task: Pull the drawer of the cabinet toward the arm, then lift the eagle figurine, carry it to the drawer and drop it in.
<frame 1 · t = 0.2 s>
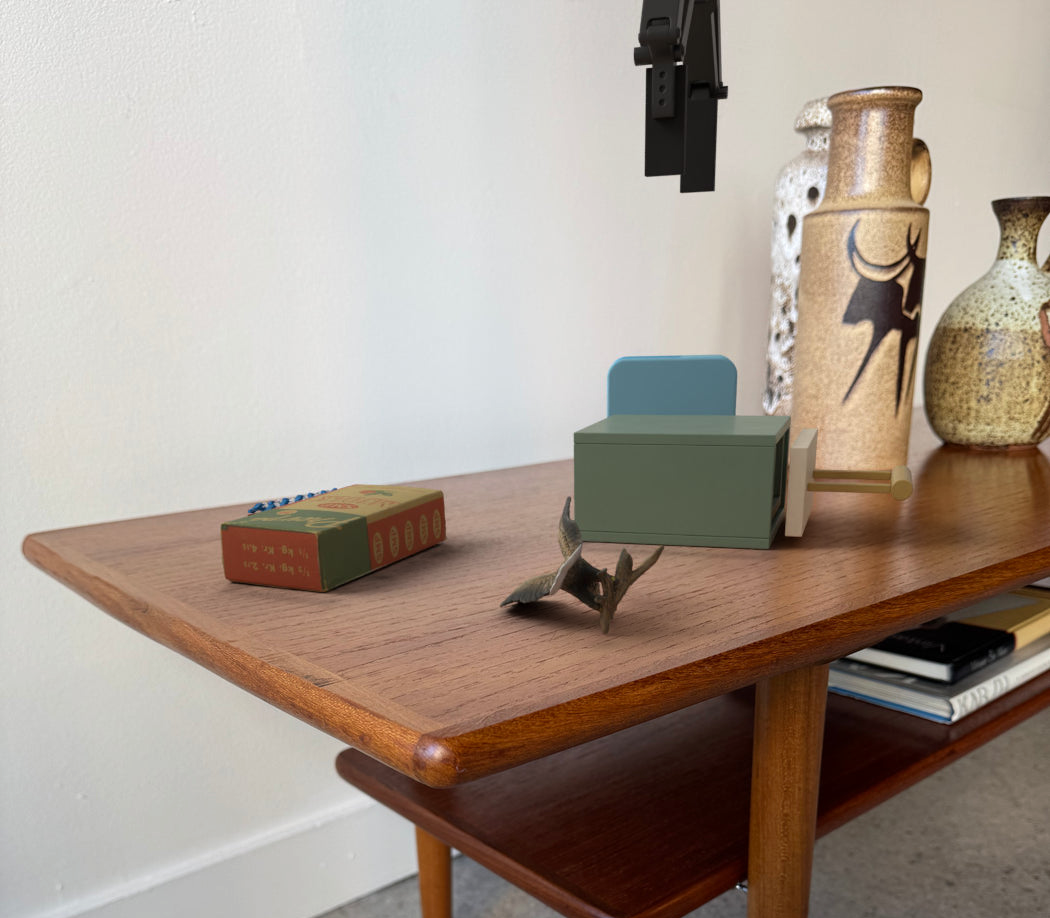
hand: (682, 185, 78), 25 cm above the table, tool pointing down, fingers open, 13 cm apart
blue rounded panel: (668, 487, 102), on the table
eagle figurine: (571, 620, 61), on the table
cabinet: (683, 528, 83), on the table
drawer: (768, 478, 80), point 4 cm above the table, slide at 1.0 cm
blue white beaded strip: (333, 526, 88), on the table
carton: (343, 564, 75), on the table
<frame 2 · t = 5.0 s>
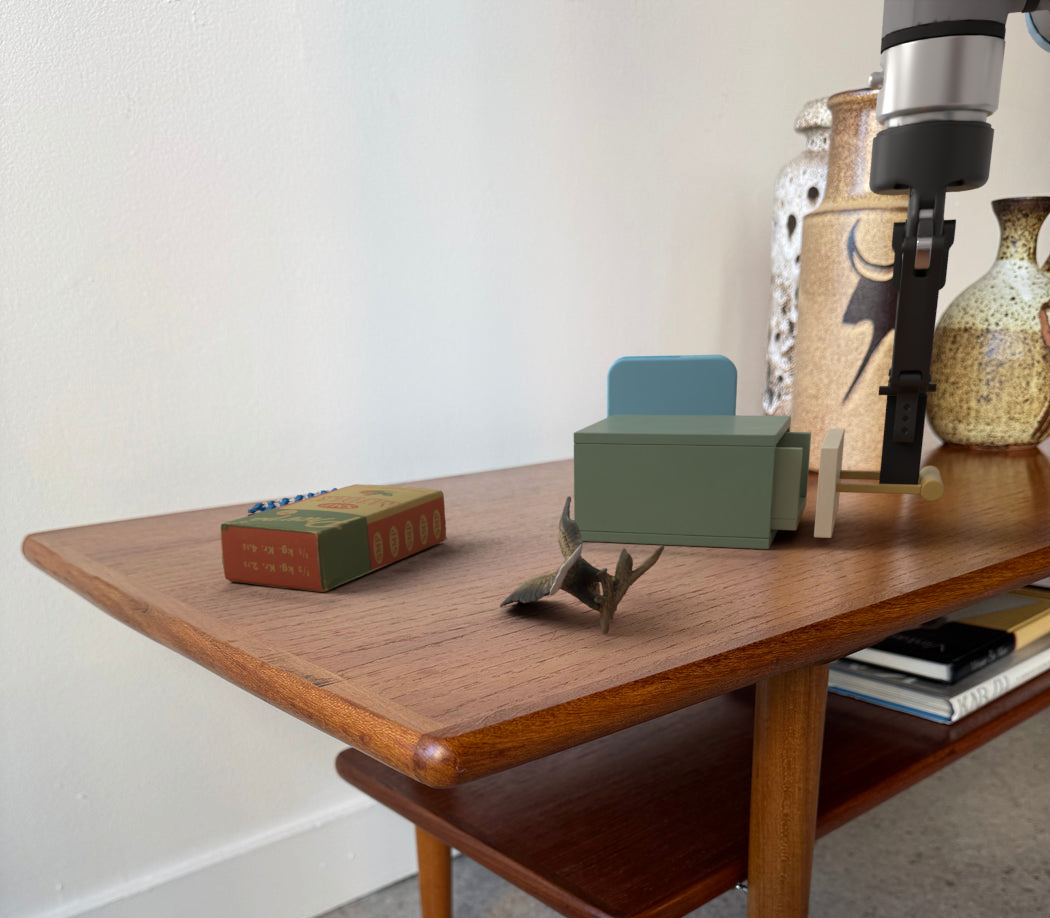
hand: (898, 485, 77), 4 cm above the table, tool pointing down, fingers closed
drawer: (795, 479, 79), point 4 cm above the table, slide at 3.0 cm, touching gripper
everything else where it was.
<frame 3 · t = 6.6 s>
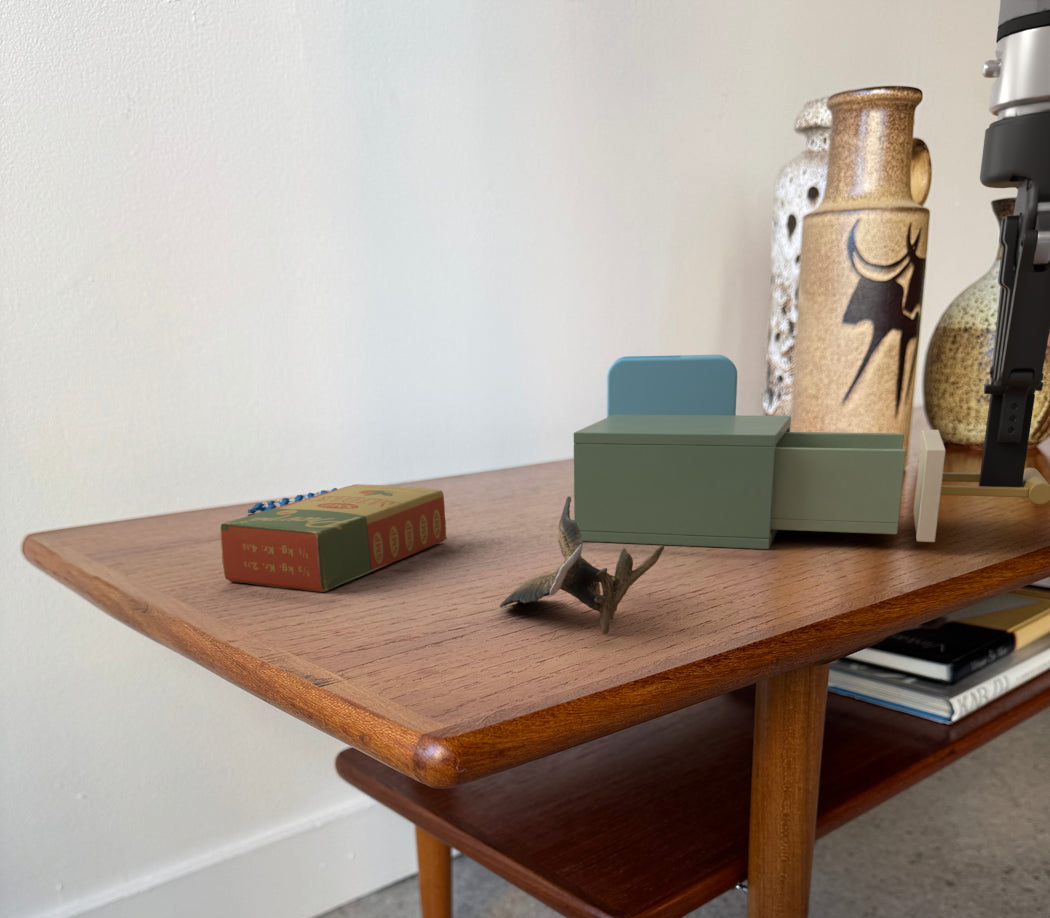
hand: (999, 487, 75), 4 cm above the table, tool pointing down, fingers closed
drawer: (891, 482, 77), point 4 cm above the table, slide at 10.0 cm
everything else where it was.
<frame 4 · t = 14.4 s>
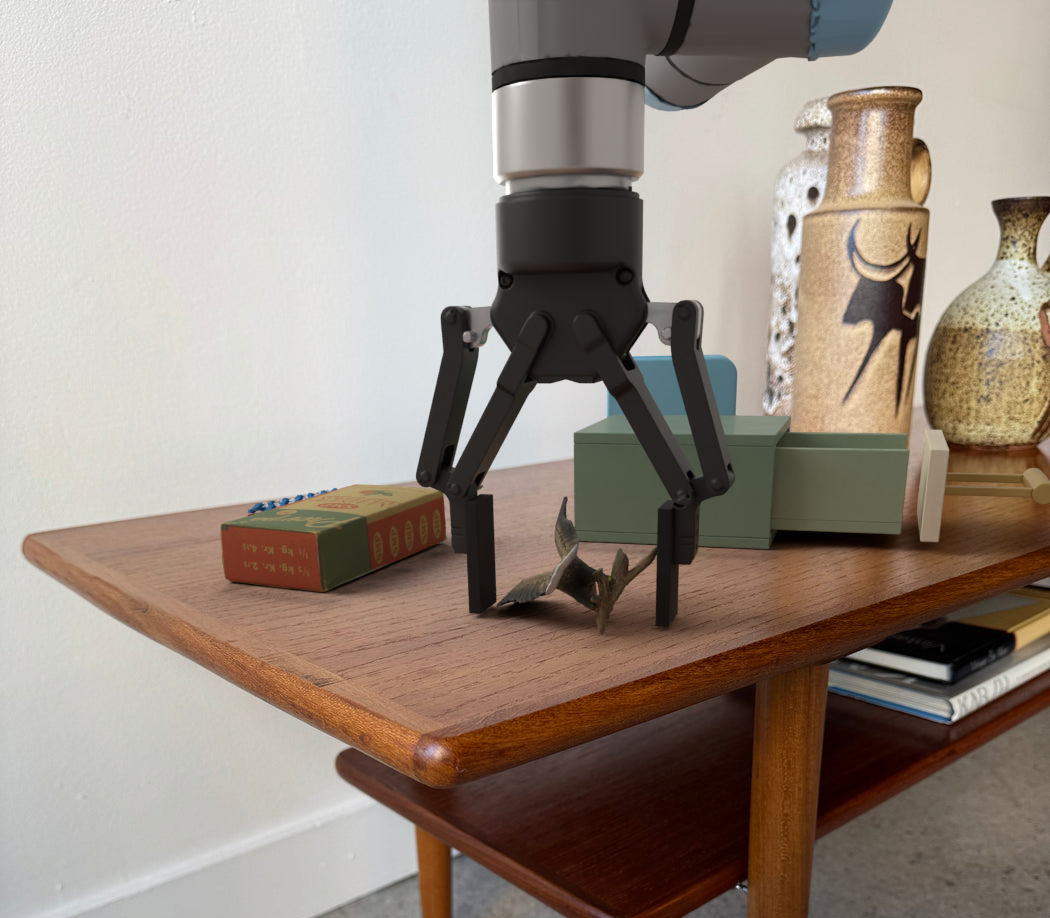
hand: (572, 613, 60), 0 cm above the table, tool pointing down, fingers open, 10 cm apart
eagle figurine: (567, 620, 61), on the table, touching gripper
everything else where it was.
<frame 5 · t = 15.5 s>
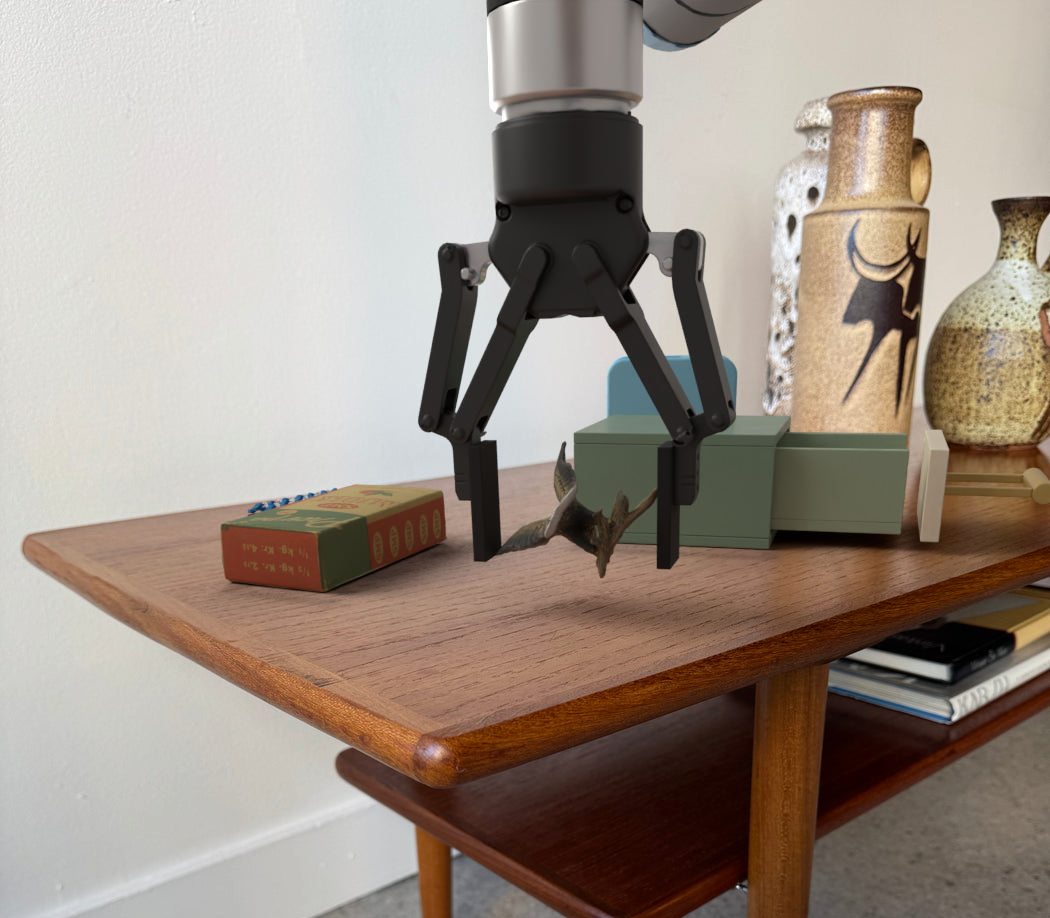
hand: (575, 559, 59), 3 cm above the table, tool pointing down, fingers closed on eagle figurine, 10 cm apart
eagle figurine: (567, 567, 60), point 3 cm above the table, touching gripper
everything else where it was.
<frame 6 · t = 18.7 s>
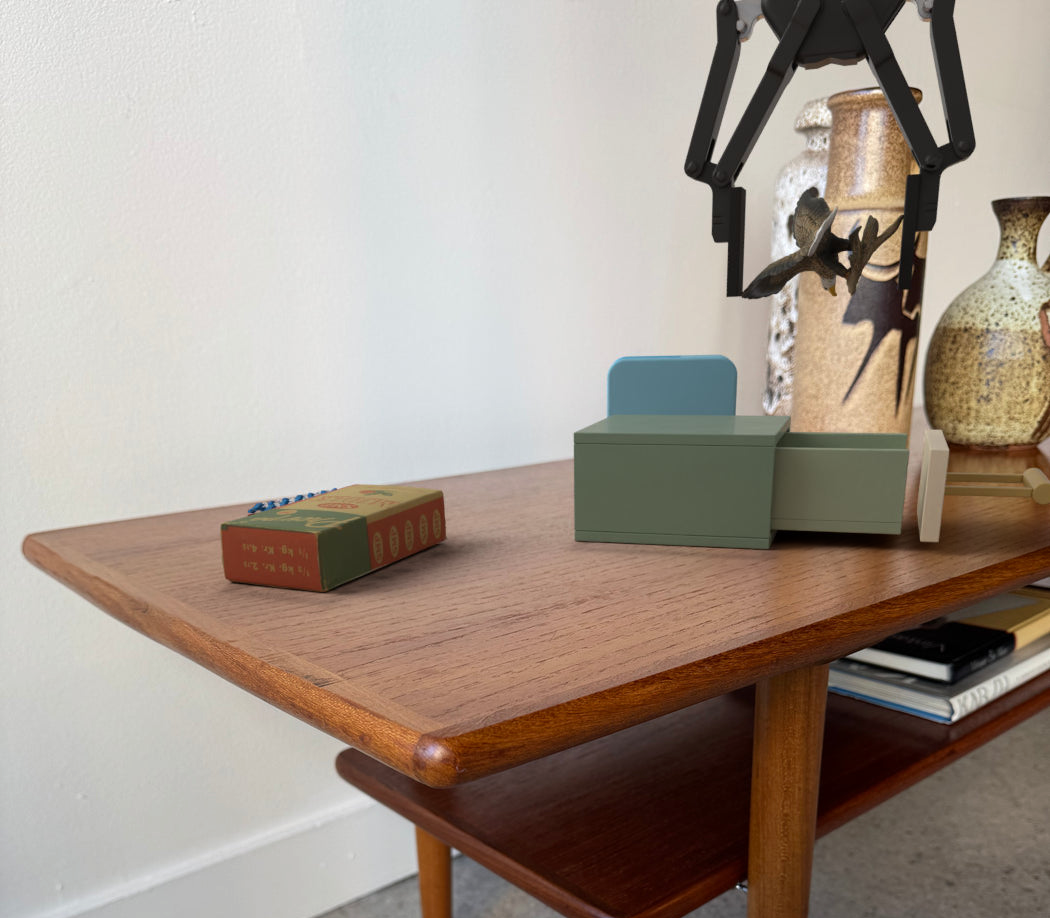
hand: (817, 293, 68), 17 cm above the table, tool pointing down, fingers closed on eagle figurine, 10 cm apart
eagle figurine: (809, 300, 68), point 17 cm above the table, touching gripper
everything else where it was.
when the fingers open (9 cm above the table, at t = 22.3 s): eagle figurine drops 4 cm, resting on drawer.
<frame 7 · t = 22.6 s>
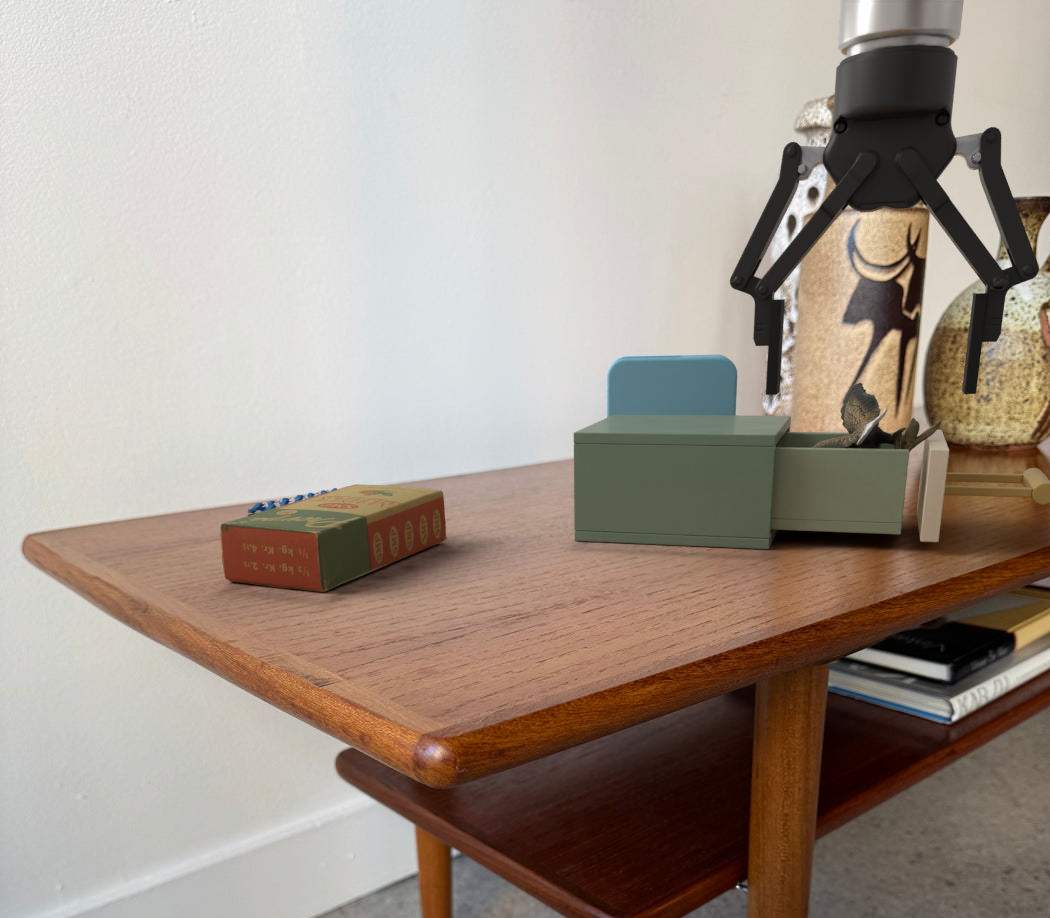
hand: (868, 393, 75), 10 cm above the table, tool pointing down, fingers open, 13 cm apart
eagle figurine: (849, 477, 78), point 4 cm above the table, touching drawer
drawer: (895, 482, 77), point 4 cm above the table, slide at 10.2 cm, touching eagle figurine
everything else where it was.
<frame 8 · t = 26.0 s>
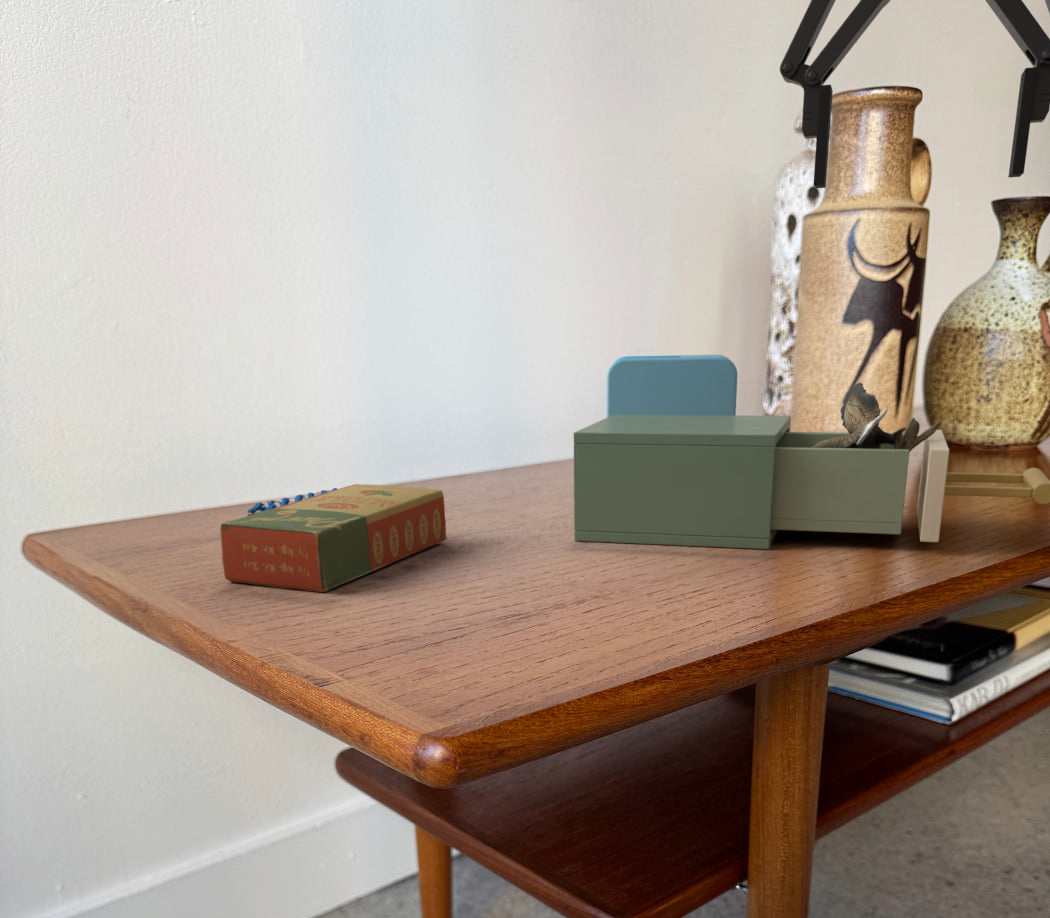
hand: (915, 181, 77), 25 cm above the table, tool pointing down, fingers open, 13 cm apart
nothing on the table moved.
at the end: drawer slide at 10.2 cm; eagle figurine inside the target area in the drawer (0.3 cm from its centre), point 4.3 cm above the cabinet's base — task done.
